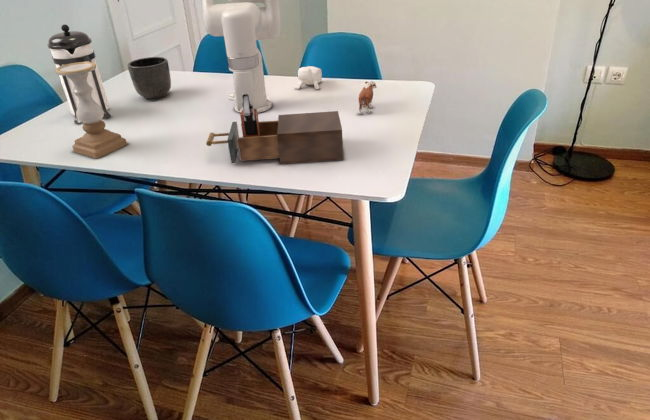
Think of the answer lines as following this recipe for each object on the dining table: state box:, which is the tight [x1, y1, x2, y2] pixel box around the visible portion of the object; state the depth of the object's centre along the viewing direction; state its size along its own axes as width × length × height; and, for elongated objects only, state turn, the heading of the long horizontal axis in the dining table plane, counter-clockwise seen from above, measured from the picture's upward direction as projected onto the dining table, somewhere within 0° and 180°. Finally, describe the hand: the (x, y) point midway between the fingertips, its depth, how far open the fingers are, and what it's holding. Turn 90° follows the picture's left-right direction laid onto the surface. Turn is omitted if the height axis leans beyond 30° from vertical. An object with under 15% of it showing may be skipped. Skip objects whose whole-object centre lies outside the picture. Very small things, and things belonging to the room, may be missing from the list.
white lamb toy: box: [295, 65, 323, 90], centre depth 182 cm, size 9×8×15 cm
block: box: [240, 109, 260, 137], centre depth 132 cm, size 4×4×10 cm
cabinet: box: [277, 110, 344, 165], centre depth 134 cm, size 17×14×9 cm
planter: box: [127, 56, 172, 101], centre depth 180 cm, size 14×14×13 cm
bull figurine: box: [358, 79, 378, 115], centre depth 159 cm, size 4×13×8 cm, turn 161°
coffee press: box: [47, 23, 112, 125], centre depth 162 cm, size 17×16×30 cm
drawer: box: [205, 120, 280, 164], centre depth 133 cm, size 22×12×7 cm, turn 93°
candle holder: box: [54, 62, 128, 159], centre depth 139 cm, size 11×11×24 cm
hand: (252, 130), depth 132 cm, fingers closed on block, 4 cm apart
